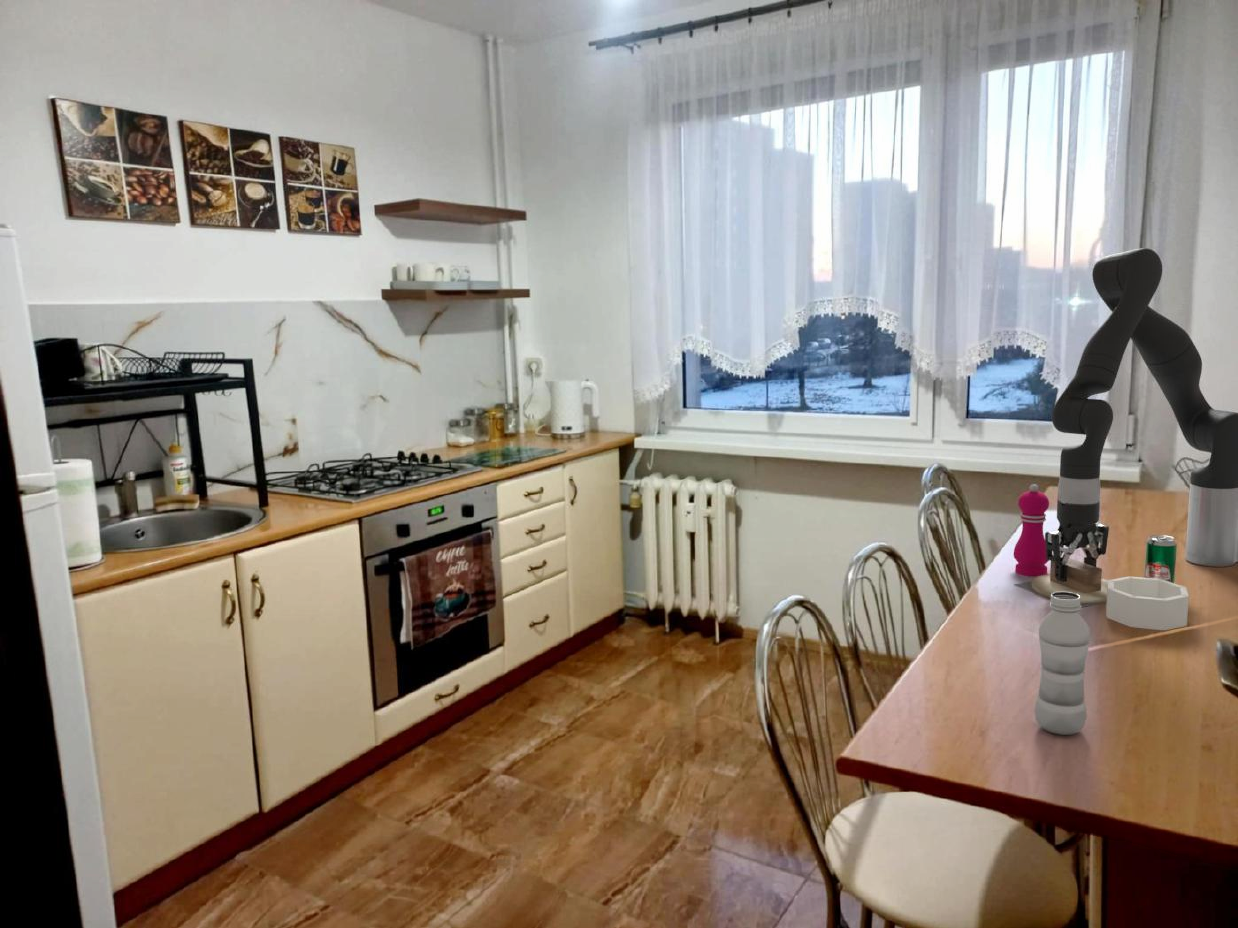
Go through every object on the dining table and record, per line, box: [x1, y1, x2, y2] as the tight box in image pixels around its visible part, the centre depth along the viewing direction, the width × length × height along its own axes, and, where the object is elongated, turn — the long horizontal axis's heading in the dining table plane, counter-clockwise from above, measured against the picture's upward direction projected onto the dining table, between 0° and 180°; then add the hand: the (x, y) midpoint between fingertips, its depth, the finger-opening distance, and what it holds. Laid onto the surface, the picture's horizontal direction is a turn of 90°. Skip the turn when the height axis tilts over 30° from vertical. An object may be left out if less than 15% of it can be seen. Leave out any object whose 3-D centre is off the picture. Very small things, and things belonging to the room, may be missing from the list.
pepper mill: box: [1013, 483, 1050, 578], centre depth 189 cm, size 7×7×20 cm
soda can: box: [1143, 534, 1178, 583], centre depth 172 cm, size 5×5×12 cm
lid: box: [1031, 557, 1108, 604], centre depth 177 cm, size 16×16×6 cm
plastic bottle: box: [1034, 592, 1092, 736], centre depth 123 cm, size 6×7×20 cm
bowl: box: [1105, 575, 1190, 631], centre depth 162 cm, size 13×13×6 cm
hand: (1075, 578), depth 177 cm, fingers open, 6 cm apart
